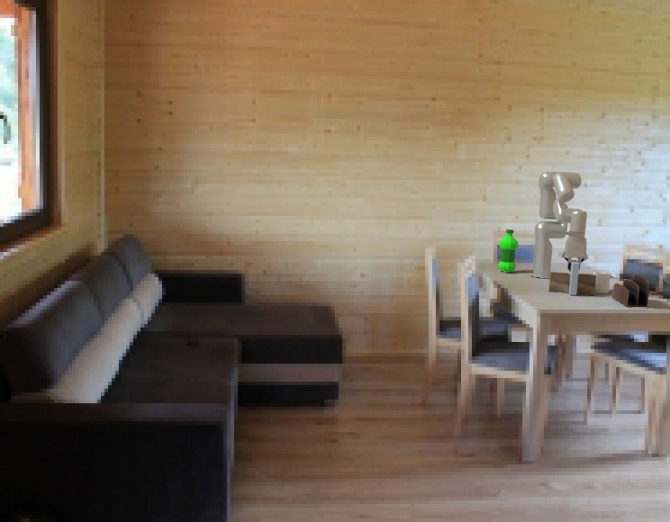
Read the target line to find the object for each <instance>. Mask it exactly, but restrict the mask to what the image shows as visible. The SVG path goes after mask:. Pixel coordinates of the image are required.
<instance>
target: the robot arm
mask: <svg viewBox="0 0 670 522" xmlns="http://www.w3.org/2000/svg"><path fill="white" fill-rule="evenodd" d="M581 184H582V178H581V175H580V174H579V173H578V172H572V171H571V172H566V171H544V172H542V173H541V174H540V175H539V178H538V187H539V191H540V197H539V210H538V214H539V217H540V218H541V219H543V220H544V219H545V220H549V221H545V220H544V221H538V222H537V223H536V224H535V226H534V237H535V239H534V242H535V243H534V244H535V245H534V254H533V256H534V257H533V268H532V272H530V273H529V277H532V276H533V278H536V277H540V278H539V279H550V272H551V267H552V265H551V264H552V256H553V244H552V243H551V241H550V239H553V240H554V239H555V240H556V239H557V240H559V239H561V240H562V239H564V238H566V241H565V246H564V251H563V253H562V254H561V255H560V256H561V258H563V260H565V261H566V262H567V270H568V269H569V271H571V259H577V262H578V263H579V271H580V269H581V264H582V263H583V262H585V261H586V260H588V259H589V256H588V254H587V250H588V249H587V247H588V246H587V238H586V237H585V236H586V227H587V220H588V219H587V218H588V212H587V211H585V210H583V209H580V208H572V207H571V208H569V207H568V205H567V203H568V202H570V201H571V200H572V199H574V197H575V191H574V189H579V188H580V187H581ZM551 220H556V221H551ZM568 224H569V230H568ZM566 236H567V237H566Z"/></svg>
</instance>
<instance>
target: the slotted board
mask: <svg viewBox="0 0 670 522" xmlns="http://www.w3.org/2000/svg"><path fill="white" fill-rule="evenodd" d="M595 284H596V275H593V274H592V273H591V274H590V273H589V274H588V273H579V274H578V283H577V293H576V295H584V294H587V295H586V296H595V295H596V294H595V293H596V292H595ZM569 285H570V283H569V273H568V272H562V271H559V272H558V271H550V278H549V283H548V292H549V293H558V292H562V294H569Z"/></svg>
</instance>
